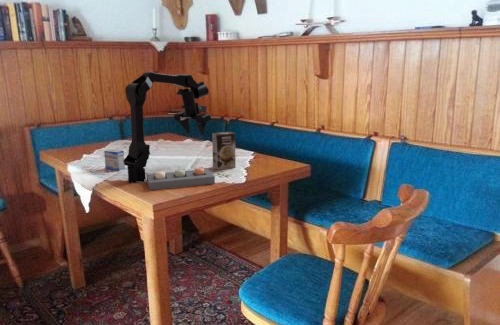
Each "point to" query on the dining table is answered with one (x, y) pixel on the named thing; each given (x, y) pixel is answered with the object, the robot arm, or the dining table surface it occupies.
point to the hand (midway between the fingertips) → (195, 134)
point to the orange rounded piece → (199, 171)
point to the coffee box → (223, 150)
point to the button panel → (180, 180)
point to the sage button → (179, 173)
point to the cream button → (159, 175)
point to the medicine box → (114, 159)
